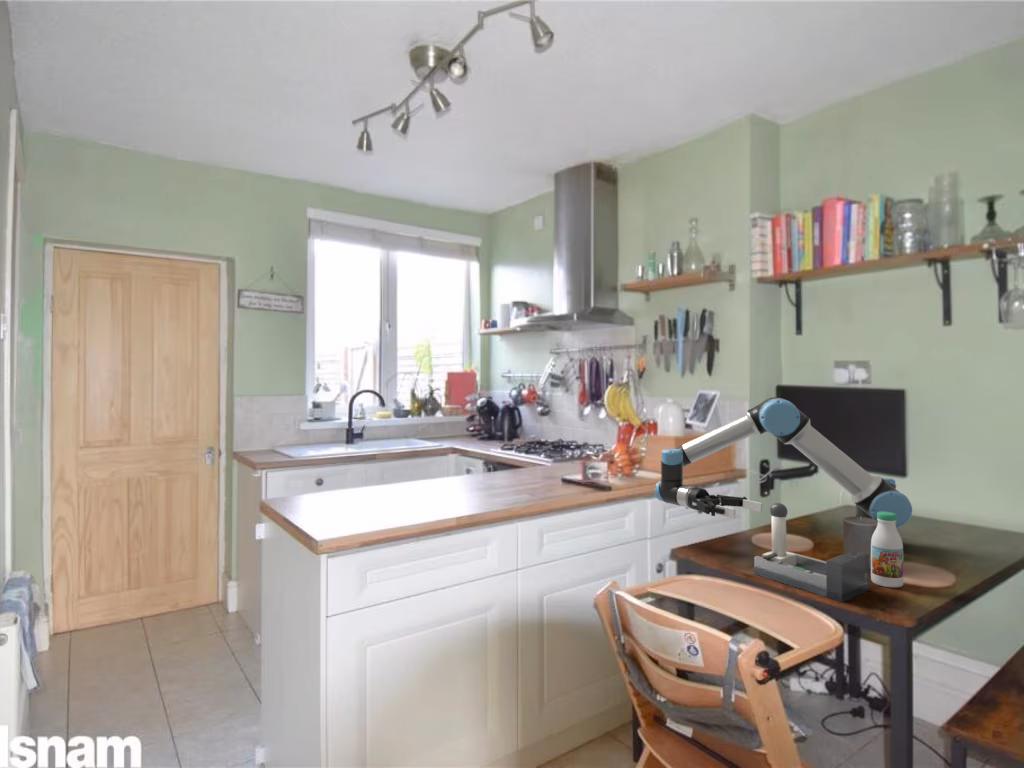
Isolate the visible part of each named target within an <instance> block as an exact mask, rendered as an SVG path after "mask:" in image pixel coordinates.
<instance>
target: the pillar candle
mask: <svg viewBox="0 0 1024 768" xmlns="http://www.w3.org/2000/svg"><path fill="white" fill-rule="evenodd" d="M877 525H878V521H877V520H874V519H870V518H866V517H861V516H860V517H856V516H846V517H843V539H842V540H843V543H842V544H843V545H842V546H843V547H842V548H843V551H842V552H843V553H842V554H845V553H848V552H850V551H853V550H854V551H858V552H862V553H867V554H869V570H871V539H872V536H873V533H874V531H875V530H876V528H877Z"/></svg>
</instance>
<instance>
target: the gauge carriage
mask: <svg viewBox="0 0 1024 768" xmlns="http://www.w3.org/2000/svg"><path fill="white" fill-rule="evenodd" d="M769 513H770V516H771V520H770V521H771V551H768V552H765V553H761V557H763V559H766V560H767V559H771V560H774V561H777V562H783V563H784V564H788V565H791V566H794V565H796V554H797V553H796V554H794V553H795V552H792V553H790V552H791V551H789V552H786V551H787V516H788V509H787V506H786V505H785V504H783V503H781V502H775V503H773V504H771V506H770V508H769Z"/></svg>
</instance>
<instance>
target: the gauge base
mask: <svg viewBox="0 0 1024 768" xmlns="http://www.w3.org/2000/svg"><path fill="white" fill-rule="evenodd" d="M786 552H790V553H794V554H796V565H794V566H791V565H788V564H784V563H783V562H777V561H774V560H771V559H767V560H766V559H763V557H762V556H760V555H755V556H754V561H753V562H754V566H753V567H752V574H753V573H754V574H753V575H755V574H757V575H756V576H758V575H760V576H759V577H761V576H763V577H762V578H765V577H766V579H768V578H769V579H768V580H771V579H773V580H772V581H774V580H776V581H775V582H777V581H779V582H778V583H780V582H782V583H781V584H783V583H784V585H786V584H788V585H787V586H790V585H791V586H790V587H793V586H794V587H793V588H796V587H797V588H796V589H799V588H801V589H800V590H802V589H804V590H803V591H805V590H808V591H810V592H809V593H811V592H813V593H812V594H815V593H816V595H817V596H821V597H824V596H825V598H828V599H831V600H834V601H837V602H840V603H843V602H845V601H848V600H850V599H852V598H854V597H856V596H859V595H861V594H863V593H866V592H868V591H869V590H870V569H869V554H867V553H862V552H858V551H854V550H853V551H850V552H848V553H845V554H843V553H842V554H840V555H837V556H834V557H832V558H829V559H826V560H822V559H818V558H815V557H810V556H806V555H803V554H799V553H796V552H792V551H787V550H786ZM808 591H807V592H808Z"/></svg>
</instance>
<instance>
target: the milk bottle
mask: <svg viewBox="0 0 1024 768" xmlns="http://www.w3.org/2000/svg"><path fill="white" fill-rule="evenodd" d="M877 520H878V525H877V528H876V530H875V531H874V533H873V536H872V539H871V569H870V580H871V582H872V583H873V584H875V585H878V586H881V587H886V588H895V589H896V588H902V587H903V586H904V544H903V543H904V542H903V539H902V537H901V534H900V532H899V533H898V531H899V530H898V531H897V529H898V527H897V528H896V524H895V523H896V514H895V513H892V512H884V511H882V512H877ZM899 534H900V535H899Z"/></svg>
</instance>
